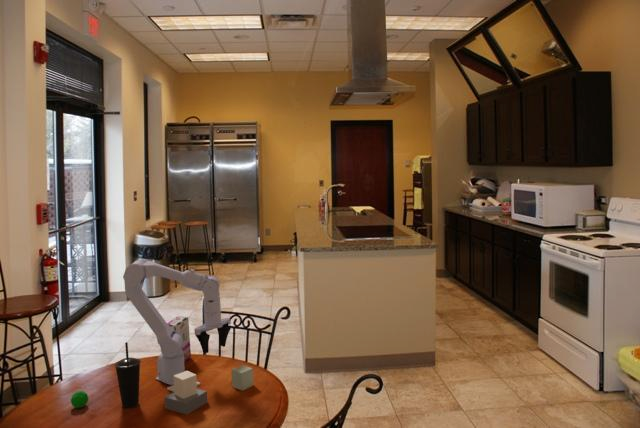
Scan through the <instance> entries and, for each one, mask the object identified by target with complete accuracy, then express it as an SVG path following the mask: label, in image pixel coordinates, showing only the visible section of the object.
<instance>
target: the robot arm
mask: <svg viewBox="0 0 640 428" xmlns="http://www.w3.org/2000/svg"><path fill="white" fill-rule="evenodd" d="M152 277H153V278H154V277H160V278H164V279H168V280H173V281H176V282H179V283H180V285H181V286H182V287H185V288H188V289H192V290H195V291H198V292H202V293H203V299H202V300H203V318H204V320H203V321H204V322H203V324H202V325H200V326H199V325H198V326H197V327H195V328H194V334H195V337H196V338H197V340H198V342H199V344H200V347H201V349H202V353H205V354H208V353H209V341H210V338H211V334H208V332H209V331H212V330H215V329H217V334H218V342H219V346H220V347H223V348H224V347H226V344H227V339H228V335H229V333H230V331H231V329H232V326H231V324H232V322H231V318H228V317H226V318H222V311H221V310H222V309H221V306H222V305H221V297H220V296H221V295H220V293H221V292H220V288H221V287H220V286H221V282H220V280H219V278H218V277H217V276H215V275H214V274H213V275H212V274H210V275H209V274H206V273H205V274H202V273H199V272H195V269H193V268H191V269H190V270H189V269H187V270H186V269H185V270H184V271H180V270H177V269H174V268H172V267H168V266H165V265H162V264H159V263H157V262H154V261H150V260H145V259H141V258H140V259H136V260H134V261H133V262H132V263H131V264H128V266H127V267H126V268H125V271H124V274H123V275H122V278H123V281H124V293H125V295H126V297H127V298H128V299H129V301H130V302H131V304H132V305H133V306H134V308H135V309H136V310H137V312H138V313H139V315H140V316H141V317H142V319H143V320H144V321H145V323H146V324H147V325H148V327H149V328H150V329H151V330H152V332H153V334H154V335H155V337H156V341H157V344H158V345H159V347H160V352H161V353H160V354H159V355H158V357H157V361H156V367H157V377H156V378H155V379H156V380H157V381H160V382H162V383H164V384H166V385H170V386H173V385H174V380H173V376H174V375H176V374H179V373H182V372H185V371H186V370H185V369H186V368H185V363H184V351H183V350H182V348H181V346H182V345H183V342H184V339H183V336H182V335H181V334H180V333H178V332H176V331H175V330H174V329H173V328H172V327H170V326H169V325H168V324H167V323H168V322H167V321H166V320H165V318H164V317H163V316H162V315H161V313H160V312H159V310H158V309H157V308H156V306H155V305H154V304H153V302H152V301H151V300H150V298H149V297H148V296H147V294H146V292H145V291H144V290H143V288H144V282H145V280H146V279H149V278H152Z"/></svg>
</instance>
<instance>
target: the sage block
mask: <svg viewBox="0 0 640 428" xmlns="http://www.w3.org/2000/svg"><path fill="white" fill-rule="evenodd" d="M231 386H232V388H235V389H237V390H240V391H245V390H247V389H249V388H252V387H254V368H252V367H251V366H247V365H244V364H242V365H240V366H237V367H235V368H232V369H231Z"/></svg>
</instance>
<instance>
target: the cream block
mask: <svg viewBox="0 0 640 428" xmlns="http://www.w3.org/2000/svg"><path fill="white" fill-rule="evenodd" d="M197 378H198V376H197V374H196V373H193V372H191V371H189V370H185V372H182V373H179V374H176V375H174V376H173V380H174V395H176V396H178V397H180V398H182V399H185V398H187V397H190V396H192V395H195V394H197V389H198V386H197V382H198V379H197Z"/></svg>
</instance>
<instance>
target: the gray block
mask: <svg viewBox="0 0 640 428" xmlns="http://www.w3.org/2000/svg"><path fill="white" fill-rule="evenodd" d="M207 403H208V391H207V390H205V389H204V390H203V389H200V388H197V394H195V395H192V396H190V397H187V398H185V399H182V398H180V397H178V396H176V395H174V392H171V393H170V394H168V395H166V396H164V408H165V409H166V410H168V411H172V412H176V413H180V414H183V415H189V414H191V413H192V412H194V411H196V410H197V409H199V408H200V407H203V406H205V405H206V404H207Z"/></svg>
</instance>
